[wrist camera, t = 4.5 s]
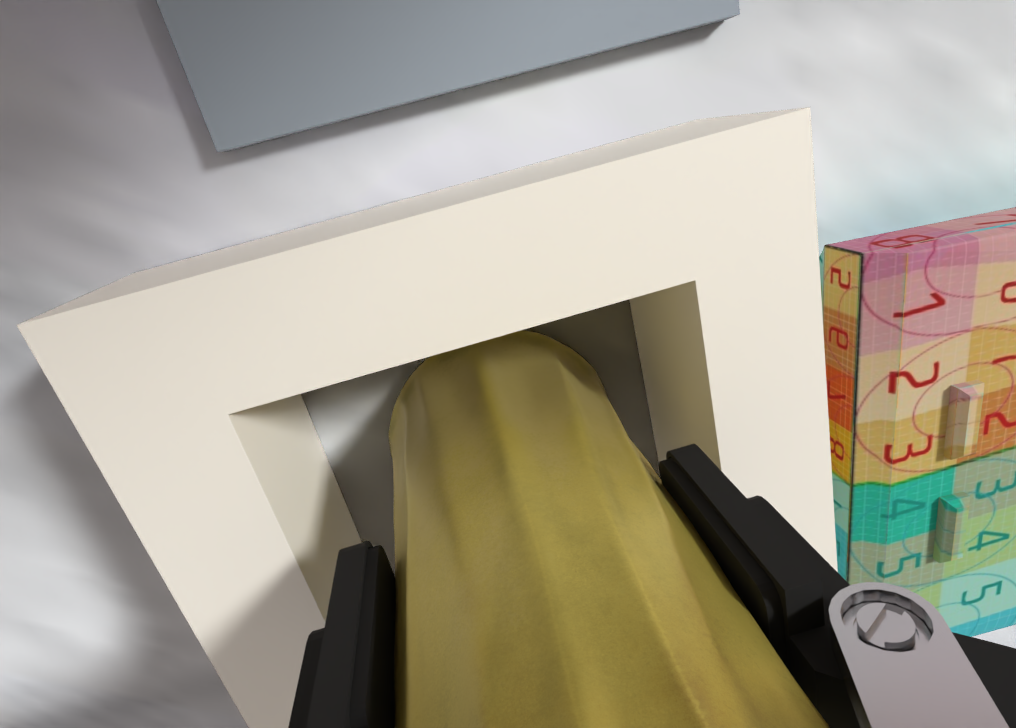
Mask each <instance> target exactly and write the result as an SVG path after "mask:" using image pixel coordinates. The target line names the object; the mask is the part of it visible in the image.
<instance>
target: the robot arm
mask: <svg viewBox="0 0 1016 728" xmlns="http://www.w3.org/2000/svg"><path fill="white" fill-rule="evenodd" d="M659 470H660V475H661V481H662V484H663V486H664V487H665V488H666V490H667V491H668V492H669V493H670V495H671V496H672V497H673V499H674V500H675V501H676V503H677V504H678V505H679V507H680V508H681V509H682V510H683V512H684V513H685V515H686V516H687V517H688V519H689V520H690V522H691V523H692V525H693V526H694V528H695V529H696V531H697V532H698V534H699V535H700V537H701V538H702V540H703V541H704V542H705V544H706V545H707V547H708V548H709V550H710V551H711V553H712V554H713V556H714V557H715V559H716V561H717V562H718V564H719V565H720V567H721V569H722V570H723V572H724V574H725V575H726V577H727V579H728V580H729V582H730V584H731V585H732V587H733V588H734V590H735V592H736V593H737V594H738V596H739V597H740V599H741V600H742V602H743V603H744V605H745V606H746V608H747V609H748V611H749V612H750V614H751V615H752V617H753V618H754V619H755V621H756V622H757V624H758V625H759V627H760V628H761V630H762V632H763V633H764V635H765V636H766V638H767V639H768V641H769V642H770V644H771V645H772V647H773V648H774V650H775V651H776V653H777V654H778V656H779V657H780V659H781V660H782V662H783V663H784V665H785V666H786V667H787V669H788V670H789V672H790V673H791V675H792V676H793V678H794V679H795V680H796V682H797V683H798V685H799V686H800V687H801V689H802V690H803V691H804V693H805V694H806V696H807V697H808V698H809V700H810V701H811V702H812V704H813V705H814V706H815V708H816V709H817V711H818V712H819V713H820V715H821V716H822V717H823V719H824V720H825V721H826V723H827V724H828V726H829V727H830V728H1016V649H1015V648H1011V647H1008V646H1004V645H1000V644H996V643H992V642H988V641H985V640H981V639H977V638H973V637H969V636H965V635H962V634H958V633H954V632H951V630H950V628H949V627H948V625H947V623H946V622H945V620H944V618H943V617H942V615H941V614H940V613H939V612H938V611H937V609H936V608H935V607H934V606H933V605H932V604H931V603H930V602H928V601H927V600H925V599H924V598H923V597H921V596H920V595H918V594H916V593H914V592H912V591H909V590H907V589H905V588H903V587H900V586H895V585H891V584H887V583H878V582H864V583H858V584H852V585H850V584H849V583H848V582H847V581H846V580H845V579H844V578H843V577H842V576H841V575H840V574H839V573H838V572H837V571H836V570H835V569H834V568H833V567H832V566H831V565H830V564H829V563H828V562H827V561H826V560H825V559H824V558H823V557H822V556H821V555H820V554H819V553H818V552H817V551H816V550H815V549H814V548H813V547H812V546H811V545H810V544H809V543H808V542H807V541H806V540H805V539H804V538H803V537H802V536H801V535H800V534H799V533H798V532H797V531H796V530H795V529H794V528H793V526H792V525H791V524H790V523H789V522H788V521H787V520H786V519H785V518H784V517H783V516H782V515H781V514H780V513H779V512H778V511H777V510H776V509H775V508H774V507H773V506H772V505H771V504H770V503H769V502H768V501H767V500H766V499H764V498H763V497H761V496H758V495H757V496H754V497H751V498H746V497H745V496H744V495H743V494H742V493H741V492H740V490H739V489H738V488H737V487H736V486H735V485H734V484H733V483H732V482H731V481H730V480H729V479H728V478H727V477H726V475H725V474H724V473H723V472H722V471H721V470H720V469H719V468H718V467H717V466H716V465H715V464H714V463H713V462H712V460H711V459H710V458H709V457H708V456H707V455H706V454H705V453H704V452H703V451H702V450H701V449H700V448H699V447H698V446H697V445H696V444H690V445H687V446H683V447H680V448H677V449H673V450H670V451H667V453H666V460H662V461H660V462H659ZM395 607H396V589H395V576H394V573H393V571H392V568H391V566H390V563H389V561H388V559H387V556H386V554H385V551H384V549H383V547H382V546H381V545H379V546H376V547H373V546H372V544H371V543H370V542H369V541H366V542H363V543H359V544H356V545H353V546H349V547H346V548H343V549H340V550H339V552H338V557H337V562H336V568H335V573H334V578H333V584H332V589H331V595H330V600H329V606H328V611H327V617H326V622H325V628H321V629H318V630H315V631H312V632H311V633H310V634H309V636H308V639H307V642H306V647H305V651H304V656H303V661H302V666H301V670H300V675H299V680H298V684H297V689H296V694H295V698H294V703H293V708H292V712H291V717H290V722H289V726H288V728H395V714H394V647H395Z"/></svg>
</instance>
